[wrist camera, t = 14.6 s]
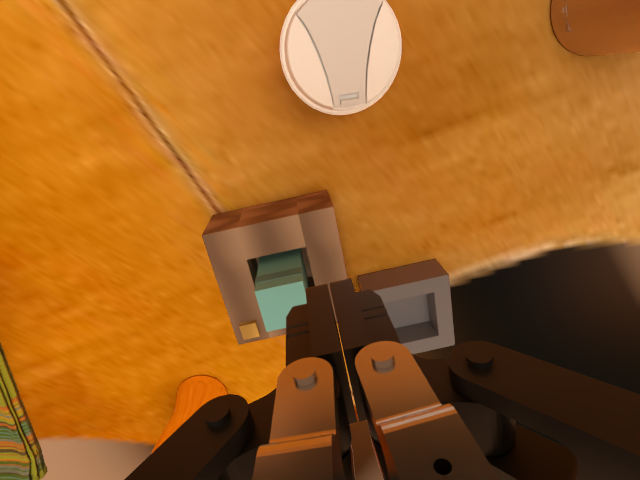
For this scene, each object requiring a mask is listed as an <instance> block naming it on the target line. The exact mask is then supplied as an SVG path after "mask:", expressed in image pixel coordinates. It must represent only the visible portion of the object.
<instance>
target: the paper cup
mask: <svg viewBox="0 0 640 480" xmlns="http://www.w3.org/2000/svg"><path fill="white" fill-rule="evenodd" d="M401 53H402V40H401V32H400V28H399V25H398V21H397V19H396V16H395V14H394V12H393V10H392V9H391V7H390V6H389V4H388V3H387V1H386V0H297V1H296V2H295V3H294V5H293V6H292V7H291V9H290V11H289V13H288V15H287V17H286V19H285V22H284V24H283V27H282V32H281V37H280V59H281V64H282V68H283V72H284V74H285V77H286V79H287V81H288V83H289V85H290V86H291V88H292V90H293V91H294V92H295V93H296V95H297V96H298V97H299V98H300V99H301V100H302V101H304V102H305V103H306V104H307V105H309V106H310V107H312V108H314V109H316V110H318V111H320V112H323V113H327V114H332V115H349V114H353V113H357V112H359V111H362V110H364V109H366V108H368V107H370V106H371V105H373V104H374V103H375V102H377V101H378V100H379V99H380V98H381V97H382V96H383V95H384V94H385V93H386V91H387V90H388V89H389V87H390V86H391V84H392V82H393V81H394V78H395V76H396V74H397V71H398V68H399V65H400V60H401Z"/></svg>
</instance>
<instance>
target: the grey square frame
mask: <svg viewBox="0 0 640 480" xmlns="http://www.w3.org/2000/svg"><path fill="white" fill-rule="evenodd" d="M358 282H359V287H360V291H365V290H369V289H370V290H372V291H373V292H375V293H376V294H378V295H379V296H380V297H381V299H382V301H383V304H384V306H385V308H386V310H387V313H388V315H389V317H390V319H391V322H392V324H393V326H394V329H395V331H396V333H397V335H398V338H399V340H400V342H401V344H402V345H404V346H405V347H406V348H408V350H409V351H410V353H411V354H416V353H420V352H425V351H429V350H434V349H438V348H443V347H447V346H452V345H455V340H454V329H453V317H452V306H451V295H450V283H449V274H448V273H447V272H446V271H445V270H444V269H443V267H442V266H441V265H440V264H439V263H438V262H437V261H436V259H433V260H428V261H423V262H419V263H414V264H410V265H405V266H401V267H396V268H392V269H387V270H383V271H378V272H373V273H369V274H364V275H360V276H358Z"/></svg>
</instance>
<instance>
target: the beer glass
mask: <svg viewBox="0 0 640 480" xmlns="http://www.w3.org/2000/svg"><path fill="white" fill-rule="evenodd" d="M222 395H227V390H226V388H225V386H224V385H223V384H222V383H221V382H220V381H219V380H217V379H215V378H213V377H210V376H203V375H200V376H194V377H191V378H188V379H186V380H185V381H184V382H183V383H182V384H181V385H180V386H179V388H178V390H177V395H176V405H175V410H174V413H173V415H172V417H171V419H170V421H169V423H168V424H167V426H166V428H165V429H164V431H163V433H162V434H161V436H160V438H159V440H158V441H157V443H156V445H155V447H154V449H153V451H152V453H153V452H154V451H155V450H156V449H157V448H158V447H159V446H160V445H161V444H162V443H163V442H164V441H165V440H167V439H168V438H169V437H170V436H171V435H172V434H173V433H174V432H175V431H176V430H177V429H178V428H179V427H180V426H181V425H182V424H183V423H184V422H185V421H186V420H187V419H189V418H190V417H191V416H192V415H193V414H194V413H195V412H196V411H197V410H198V409H199V408H200V407H201V406H202V405H204V404H205V403H207V402H208V401H210V400H212V399H214V398H216V397H219V396H222ZM152 453H151V454H152Z"/></svg>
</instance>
